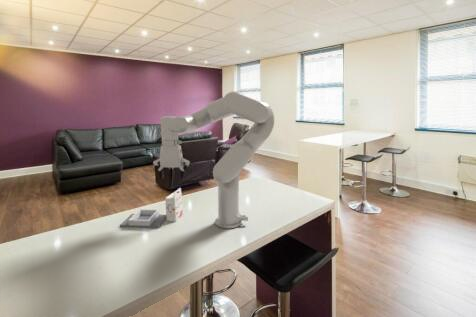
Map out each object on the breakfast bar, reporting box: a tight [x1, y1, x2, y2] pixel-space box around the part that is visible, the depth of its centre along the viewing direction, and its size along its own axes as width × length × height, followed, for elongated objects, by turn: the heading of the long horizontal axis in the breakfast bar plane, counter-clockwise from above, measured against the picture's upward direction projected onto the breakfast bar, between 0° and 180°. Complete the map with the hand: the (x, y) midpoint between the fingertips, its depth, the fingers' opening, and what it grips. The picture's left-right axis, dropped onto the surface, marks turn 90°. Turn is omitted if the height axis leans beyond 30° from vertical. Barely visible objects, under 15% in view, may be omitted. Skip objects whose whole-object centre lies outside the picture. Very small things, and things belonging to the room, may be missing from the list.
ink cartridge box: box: [165, 187, 183, 223], centre depth 133 cm, size 9×5×15 cm, turn 168°
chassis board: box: [119, 208, 167, 229], centre depth 130 cm, size 18×13×4 cm
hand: (172, 178), depth 131 cm, fingers open, 9 cm apart
